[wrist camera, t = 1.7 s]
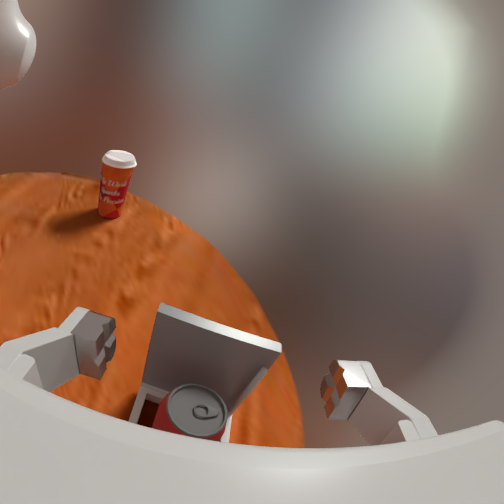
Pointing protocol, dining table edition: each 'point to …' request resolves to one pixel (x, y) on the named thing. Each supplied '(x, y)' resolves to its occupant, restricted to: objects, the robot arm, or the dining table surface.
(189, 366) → the case
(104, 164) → the paper cup
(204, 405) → the beer can
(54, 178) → the dining table surface
